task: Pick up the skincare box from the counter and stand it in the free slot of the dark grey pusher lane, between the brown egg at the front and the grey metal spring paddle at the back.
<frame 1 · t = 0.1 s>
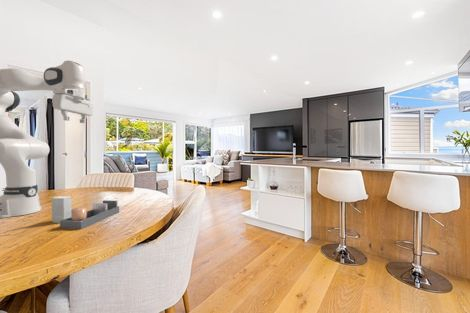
hand: (74, 121, 106), 48 cm above the table, tool pointing down, fingers open, 8 cm apart
spring paddle: (100, 209, 102), point 4 cm above the table, slide at 0.0 cm
pusher lane: (93, 221, 98), on the table
skincare box: (61, 223, 95), on the table
brown egg: (79, 225, 90), point 1 cm above the table, touching pusher lane
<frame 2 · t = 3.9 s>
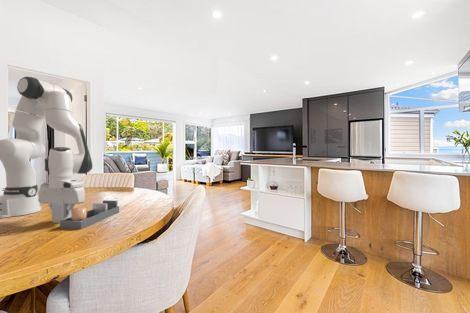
hand: (61, 213, 95), 5 cm above the table, tool pointing down, fingers closed on skincare box, 6 cm apart
skincare box: (61, 223, 95), on the table, touching gripper
everything else where it was.
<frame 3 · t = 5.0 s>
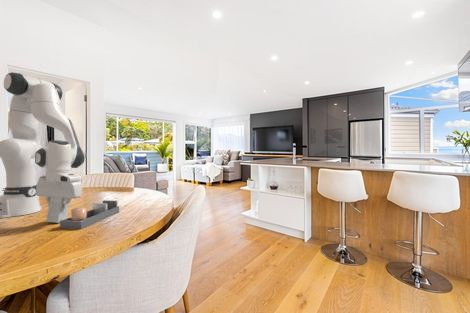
hand: (58, 206, 94), 8 cm above the table, tool pointing down, fingers closed on skincare box, 6 cm apart
skincare box: (56, 222, 93), point 1 cm above the table, touching gripper
everything else where it was.
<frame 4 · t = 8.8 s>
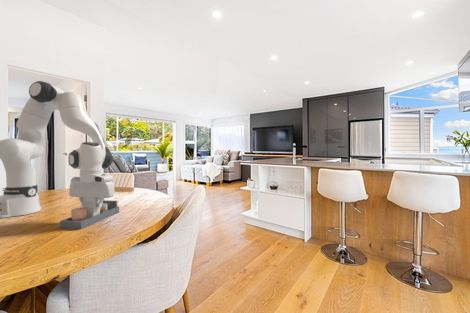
hand: (91, 206, 97), 7 cm above the table, tool pointing down, fingers closed on skincare box, 6 cm apart
skincare box: (89, 220, 96), point 1 cm above the table, touching gripper, pusher lane
everything else where it was.
when the fingers open (7 cm above the table, at t = 9.6 s): skincare box stays where it is, resting on pusher lane.
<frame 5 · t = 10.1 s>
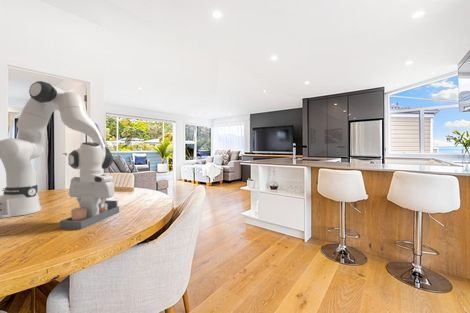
hand: (91, 206, 97), 7 cm above the table, tool pointing down, fingers open, 8 cm apart
skincare box: (89, 220, 96), point 1 cm above the table, touching pusher lane
everything else where it was.
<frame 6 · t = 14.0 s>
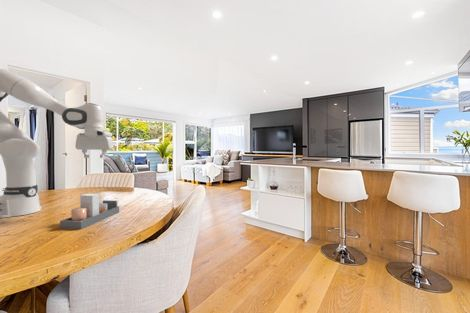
hand: (94, 157, 116), 29 cm above the table, tool pointing down, fingers open, 8 cm apart
nothing on the table moved.
at the end: skincare box 1.1 cm from the target spot, point 0.8 cm above the table; skincare box tilted 0°; brown egg moved 0.0 cm from its start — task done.
